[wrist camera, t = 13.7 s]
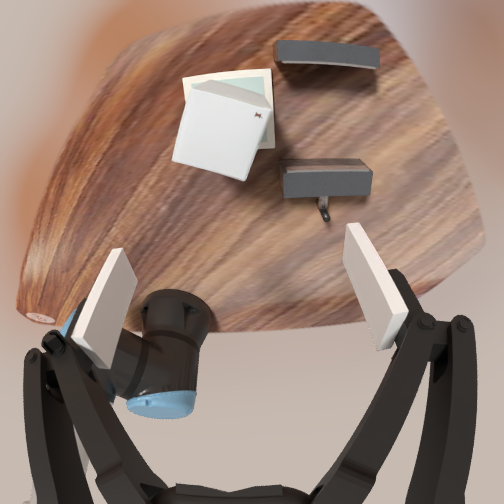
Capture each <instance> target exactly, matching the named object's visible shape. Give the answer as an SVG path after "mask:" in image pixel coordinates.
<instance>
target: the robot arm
mask: <svg viewBox="0 0 504 504" xmlns="http://www.w3.org/2000/svg"><path fill="white" fill-rule="evenodd" d="M342 262H343V264H344V267H345V269H346V271H347V274H348V276H349V279H350V281H351V283H352V286H353V288H354V291H355V293H356V296H357V298H358V301H359V303H360V306H361V309H362V311H363V314H364V316H365V319H366V322H367V324H368V327H369V330H370V333H371V335H372V338H373V341H374V344H375V346H376V349H377V351H380V350H384V349H389V348H391V347H392V345H393V343H394V341H395V343H396V345H397V349H396V351H395V353H394V355H393V357H392V358H391V359H392V361H391V363H390V365H389V367H388V369H387V372H386V374H385V376H384V378H383V380H382V382H381V384H380V386H379V388H378V390H377V392H376V394H375V396H374V398H373V400H372V402H371V404H370V406H369V407H368V409H367V411H366V413H365V415H364V417H363V418H362V420H361V422H360V423H359V425H358V427H357V429H356V430H355V432H354V433H353V435H352V437H351V438H350V440H349V441H348V443H347V445H346V446H345V448H344V449H343V451H342V452H341V454H340V455H339V457H338V458H337V460H336V461H335V463H334V464H333V465H332V467H331V468H330V470H329V471H328V472H327V473H326V474H325V476H324V477H323V478H322V479H321V481H320V482H319V483H318V485H317V486H316V487H315V488H314V490H313V491H312V492H311V494H310V495H308V494H306V493H305V492H302V491H300V490H297V489H294V488H290V487H284V486H282V485H270V486H255V487H250V488H246V489H242V490H238V491H234V492H225V491H221V490H217V489H213V488H208V487H204V486H199V485H186V484H177V483H176V486H174V487H170V488H168V486H167V485H166V484H165V483H164V482H163V481H162V480H161V479H160V478H159V477H158V476H157V475H156V474H154V473H153V471H152V470H151V469H150V468H149V466H148V465H147V463H146V462H145V460H144V459H143V457H142V456H141V455H140V453H139V451H138V450H137V449H136V447H135V445H134V444H133V442H132V441H131V439H130V438H129V436H128V434H127V432H126V431H125V430H124V427H123V426H122V424H121V422H120V421H119V419H118V417H117V415H116V413H115V412H114V410H113V408H112V405H113V403H114V399H115V396H120V397H122V398H124V399H126V400H127V402H126V405H127V408H128V410H129V411H131V412H133V413H135V414H137V415H141V416H144V417H149V418H157V419H178V418H183V417H186V416H188V415H189V414H190V413H191V412H192V411H193V409H194V403H195V398H196V395H197V393H196V387H197V374H198V361H199V352H200V347H201V345H202V343H203V342H204V340H205V338H206V336H207V334H208V332H209V330H210V327H211V318H212V315H211V311H210V309H209V307H208V306H207V305H206V304H205V303H204V302H203V301H202V300H201V299H199V298H198V297H196V296H194V295H192V294H190V293H187V292H184V291H180V290H174V289H163V290H158V291H155V292H152V293H151V294H149V295H148V296H147V297H146V298H145V299H144V301H143V305H142V308H141V325H142V335H143V336H142V338H141V337H139V336H137V335H135V334H133V333H132V332H130V331H128V330H126V329H124V328H122V327H123V323H124V320H125V317H126V314H127V311H128V308H129V305H130V302H131V299H132V296H133V294H134V291H135V288H136V285H137V282H138V280H137V278H136V276H135V274H134V272H133V270H132V267H131V265H130V263H129V261H128V259H127V256H126V254H125V252H124V249H123V248H117V249H112V251H111V253H110V255H109V256H108V258H107V260H106V262H105V264H104V266H103V268H102V270H101V272H100V274H99V276H98V278H97V280H96V282H95V284H94V286H93V288H92V290H91V292H90V294H89V296H88V298H84V299H83V300H82V302H81V303H80V304H79V305H78V307H77V308H76V309H75V310H74V311H73V312H72V313H71V315H70V316H69V318H68V319H67V321H66V322H65V324H64V325H63V327H62V329H61V330H60V332H59V331H58V330H51V331H49V332H48V333H47V334H46V335H45V336H44V337H43V340H42V344H41V345H42V347H43V348H44V349H45V350H46V352H45V353H42V352H41V351H40V350H39V349H37V348H32V349H31V350H29V351H28V353H27V354H26V356H25V360H24V380H23V381H24V382H23V394H24V395H23V396H24V420H25V432H26V442H27V450H28V456H29V463H30V468H31V474H32V478H33V485H32V493H31V500H30V501H25V502H24V503H23V504H94V503H93V500H92V496H91V493H90V490H89V487H88V483H87V480H86V477H85V476H86V471H87V466H88V462H89V459H90V461H91V463H92V465H93V467H94V469H95V471H96V473H97V477H96V479H95V482H96V484H97V487H98V489H99V490H100V492H101V493H102V495H103V497H104V499H105V500H106V502H107V503H108V504H362V503H363V501H364V500H365V499H366V497H367V496H368V494H369V493H370V491H371V489H372V487H373V486H374V484H375V481H376V475H377V473H378V471H379V470H380V468H381V466H382V465H383V463H384V461H385V459H386V457H387V456H388V454H389V452H390V450H391V448H392V446H393V444H394V442H395V440H396V438H397V436H398V434H399V432H400V430H401V428H402V426H403V424H404V421H405V419H406V417H407V415H408V413H409V410H410V408H411V405H412V403H413V400H414V398H415V396H416V393H417V391H418V388H419V385H420V383H421V380H422V377H423V374H424V371H425V369H426V366H427V362H431V363H430V378H429V389H428V397H427V406H426V413H425V419H424V425H423V431H422V436H421V441H420V446H419V451H418V455H417V459H416V464H415V467H414V471H413V475H412V478H411V482H410V485H409V489H408V493H407V497H406V502H405V504H465V495H464V493H465V489H466V484H467V480H468V475H469V470H470V465H471V459H472V453H473V446H474V436H475V428H476V414H477V356H476V342H475V332H474V326H473V323H472V322H471V320H470V319H469V318H467V317H466V316H463V315H457V316H455V317H454V318H453V319H452V321H451V322H445V321H436V319H435V318H434V317H433V316H432V315H430V314H429V313H425V312H424V311H423V309H422V307H421V305H420V303H419V301H418V300H417V298H416V296H415V294H414V292H413V291H412V290H411V287H410V285H409V284H408V282H407V280H406V278H405V277H404V275H403V274H402V273H401V272H399V271H398V270H397V269H391V270H387V269H386V267H385V265H384V264H383V262H382V260H381V258H380V257H379V255H378V253H377V251H376V250H375V248H374V246H373V245H372V243H371V241H370V240H369V238H368V236H367V235H366V233H365V232H364V230H363V228H362V227H361V225H360V224H359V223H349V224H347V225H346V234H345V243H344V251H343V259H342ZM46 385H47V387H46ZM282 493H283V494H282Z"/></svg>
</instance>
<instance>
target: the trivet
mask: <svg viewBox="0 0 504 504" xmlns="http://www.w3.org/2000/svg"><path fill="white" fill-rule="evenodd" d="M210 79H211V80H216V81H220V82H223V83H227V84H231V85H234V86H238V87H241V88H244V89H247V90H250V91H253V92H256V93H260V94H262V95H264V96H265V98H266V100H267V101H268V103H269V105H270V107H271V109H272V113H271V116H270V118H269V121H268V123H267V126H266V128H265V131H264V133H263V136H262V139H261V142H260V145H259V147H258V149H267V148H275V133H274V113H273V95H272V79H271V69H254V70H240V71H229V72H220V73H212V74H205V75H198V76H191V77H186V78H183V85H184V93H185V100H186V102H187V98H188V95H189V92H190V90H191V88H193V87H195V86H197V85H199V84H202V83H204V82H206V81H208V80H210Z"/></svg>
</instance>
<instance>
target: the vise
mask: <svg viewBox="0 0 504 504" xmlns="http://www.w3.org/2000/svg"><path fill="white" fill-rule="evenodd" d="M273 55H274V61H281V63H309V64H329V65H342V66H352V67H361V68H369V69H376V67H378V68H380V49H378V48H372V47H366V46H359V45H351V44H343V43H333V42H320V41H298V40H277V41H276V42H274V43H273ZM372 176H373V172H372V171H371V169H370V168H369V167H368V166H367V165H366V164H365V163H364V162H363V161H361V160H360V159H291V160H279V180H280V186H281V190H282V193H283V197H284V198H301V197H319V199H317V200H316V204H317V206H318V208H319V211H320V213H321V215H322V218H323V220H324V221H325V222H328V221H329V220H330V216H329V214H328V212H327V210H326V209H327V208H328V197H329V196H359V195H370V190H371V183H372Z"/></svg>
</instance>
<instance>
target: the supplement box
mask: <svg viewBox="0 0 504 504" xmlns="http://www.w3.org/2000/svg"><path fill="white" fill-rule="evenodd" d="M271 113H272V109H271V107H270V105H269V103H268V101H267V100H266V98H265V96H264V95H262V94H260V93H256V92H253V91H250V90H247V89H244V88H241V87H238V86H234V85H231V84H227V83H223V82H220V81H216V80H211V79H210V80H208V81H206V82H204V83H202V84H199V85H197V86H195V87H193V88H191V90H190V92H189V95H188V98H187V102H186V105H185V109H184V112H183V116H182V119H181V123H180V127H179V131H178V135H177V139H176V143H175V147H174V152H173V157H172V161H174V162H178V163H182V164H186V165H190V166H194V167H198V168H201V169H205V170H208V171H212V172H215V173H218V174H222V175H225V176H228V177H231V178H234V179H238V180H241V181H245V180H246V178H247V176H248V173H249V170H250V168H251V165H252V162H253V160H254V157H255V154H256V152H257V149H258V147H259V145H260V142H261V139H262V136H263V133H264V131H265V128H266V126H267V123H268V121H269V118H270V116H271Z"/></svg>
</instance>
